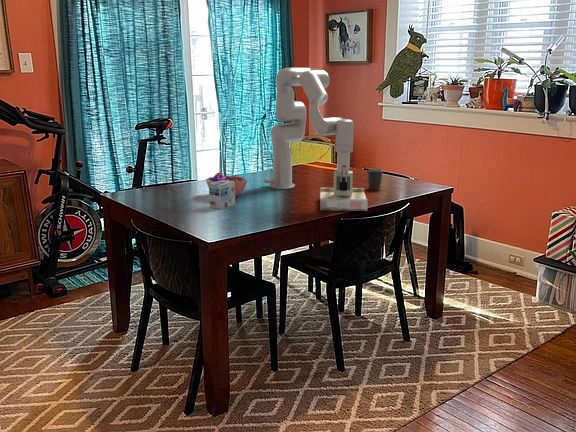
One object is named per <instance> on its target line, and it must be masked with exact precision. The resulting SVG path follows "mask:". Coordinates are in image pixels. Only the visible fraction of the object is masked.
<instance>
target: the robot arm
mask: <svg viewBox="0 0 576 432" xmlns="http://www.w3.org/2000/svg"><path fill="white" fill-rule="evenodd" d="M329 85H330V76H329V73H328V72H326V71H325V70H323V69H319V68H314V67H293V66H292V67H284V68H282V69H280V70H279V71H278V72H277V74H276V76H275V86H276V98H275V99H276V100H275V118H276V120H277V121H279V122H283V123H279V124H275V125H273V126H272V128H271V129H270V138H271V144H272V177H270V178H264V180H263V181H264V183H265V184H266V183H267V184H269V187H270V188H272V189H274V190H291V189H294V188H295V187H296V184H295V183H293V152H292V148H291V146H290V145H289V144H291V143H297V142H299V143H300V142H301V141H302V140H303V139H304V137H305V134H306V133H305V132H306V126H307V125H306V123H307V108H306V105H305V104H304V102H302V101H299V100H295V90H294V89H293V87H301V88H302V89H303V92H304V93H305V95H306V97H307V99H308V102H309V103H310V107H309V111H308V112H309V113H308V115H309V121H310V123H311V125H312V127H313V130H314V131H315V132H316V133H317V135H319V136H333V135H335V147H334V148H335V152H336V153H337V155H336V156H337V157H336V158H337V159H336V160H337V161H336V171H337V174H338V175H339V174H341V173H343V175H340V191H347V175H348V174H349V171H350V164H351V163H350V160H351V153H353V152H354V129H355V128H354V125H355V123H354V121H353V119H349V118H343V117H338V116H336V117H335V116H334V117H332V116H331V117H323V115H322V113H321V110H320V108H321V107H322V106H323V105H324V104H326V103H327V102H328V101H329V100H328V99H329V95H328V93H327V91H326V89H327V88H328V87H329ZM284 122H289V123H284ZM342 176H343V177H342Z"/></svg>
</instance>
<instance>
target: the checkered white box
mask: <svg viewBox="0 0 576 432" xmlns="http://www.w3.org/2000/svg"><path fill="white" fill-rule="evenodd" d="M319 190H320V191H319V200H320V201H319V209H320V211H339V212H341V211H342V212H345V211H346V212H347V211H348V212H349V211H350V212H353V211H356V212H368V202H369V201H368V200H369V199H368V198H367V196H366V194H365V188H364V187H352V196H344V195H334V187H320V189H319Z"/></svg>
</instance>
